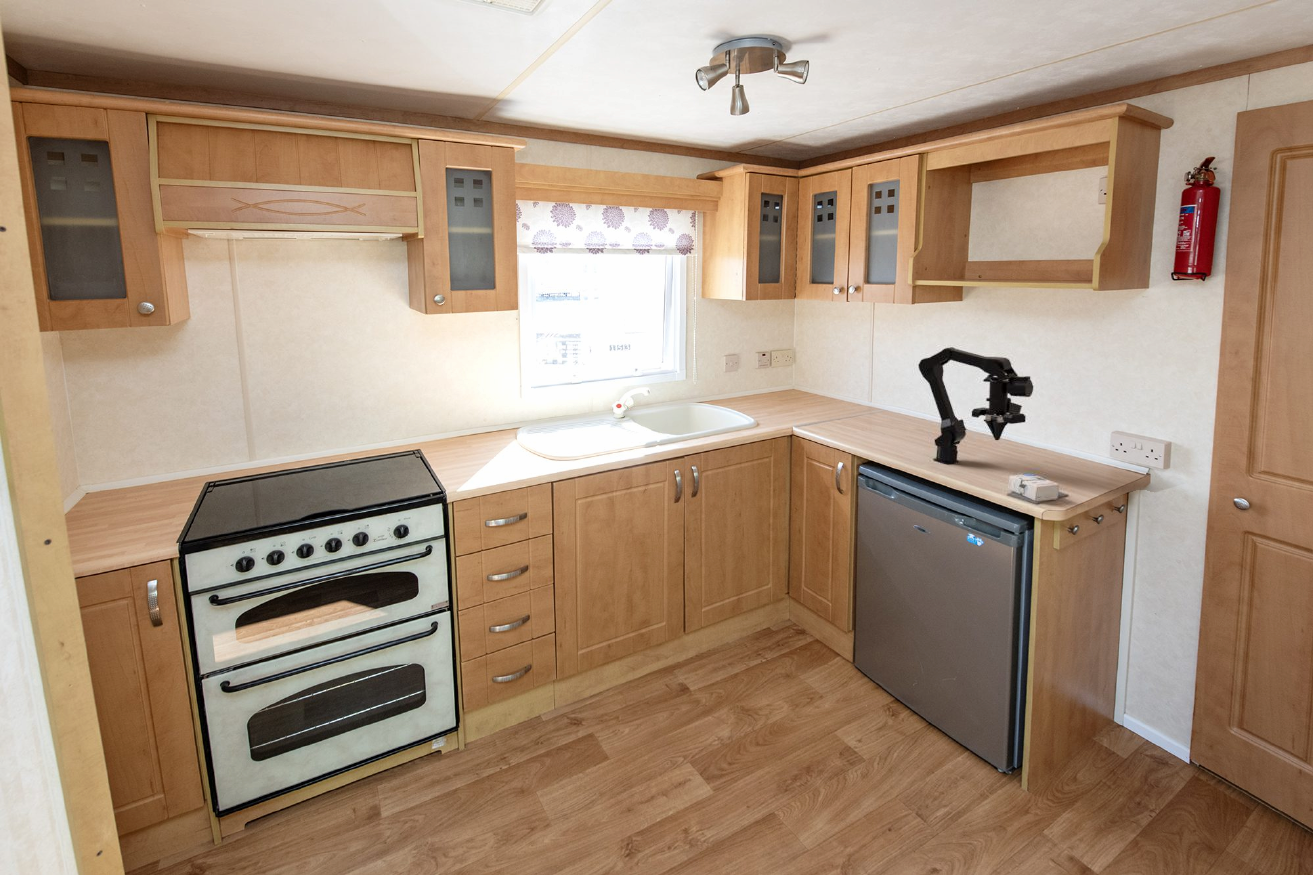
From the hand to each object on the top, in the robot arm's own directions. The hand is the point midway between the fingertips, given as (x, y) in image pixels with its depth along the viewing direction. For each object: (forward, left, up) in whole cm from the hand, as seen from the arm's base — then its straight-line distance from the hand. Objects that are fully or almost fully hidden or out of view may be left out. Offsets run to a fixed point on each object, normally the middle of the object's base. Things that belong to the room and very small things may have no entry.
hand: (997, 440), depth 251 cm
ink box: (+17, -10, -9) cm, 21 cm away
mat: (+23, -9, -12) cm, 28 cm away
